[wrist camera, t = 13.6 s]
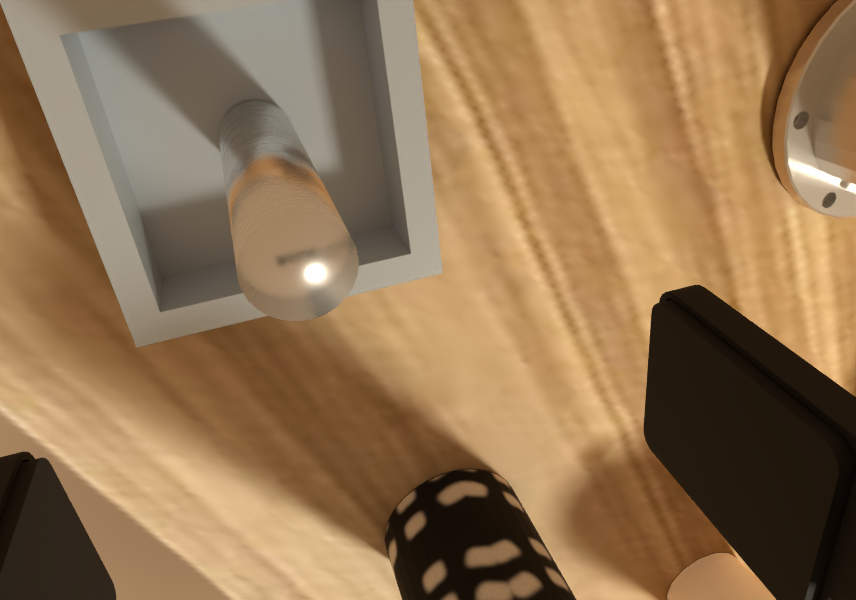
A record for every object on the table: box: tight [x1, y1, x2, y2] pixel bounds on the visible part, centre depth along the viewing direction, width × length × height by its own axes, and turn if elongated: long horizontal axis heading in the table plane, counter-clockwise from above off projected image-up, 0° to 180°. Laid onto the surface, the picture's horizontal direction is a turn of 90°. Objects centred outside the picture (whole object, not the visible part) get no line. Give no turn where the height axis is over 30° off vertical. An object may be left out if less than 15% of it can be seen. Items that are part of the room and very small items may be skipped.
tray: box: [0, 0, 443, 348], centre depth 25 cm, size 12×12×4 cm
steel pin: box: [218, 99, 359, 321], centre depth 21 cm, size 3×3×12 cm
